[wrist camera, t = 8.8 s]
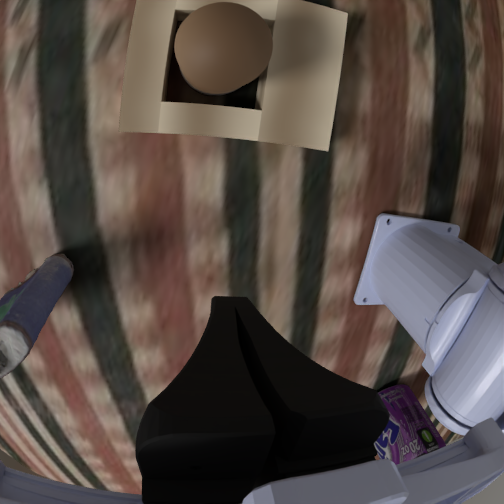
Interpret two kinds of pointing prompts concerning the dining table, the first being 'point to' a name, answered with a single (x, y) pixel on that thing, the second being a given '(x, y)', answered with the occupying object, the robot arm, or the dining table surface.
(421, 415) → the beverage can
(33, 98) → the dining table surface
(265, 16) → the board
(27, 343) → the flask
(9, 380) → the dining table surface
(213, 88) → the peg
